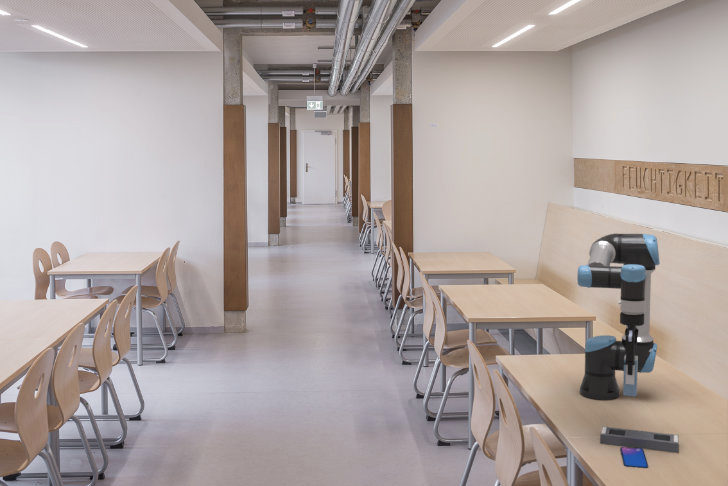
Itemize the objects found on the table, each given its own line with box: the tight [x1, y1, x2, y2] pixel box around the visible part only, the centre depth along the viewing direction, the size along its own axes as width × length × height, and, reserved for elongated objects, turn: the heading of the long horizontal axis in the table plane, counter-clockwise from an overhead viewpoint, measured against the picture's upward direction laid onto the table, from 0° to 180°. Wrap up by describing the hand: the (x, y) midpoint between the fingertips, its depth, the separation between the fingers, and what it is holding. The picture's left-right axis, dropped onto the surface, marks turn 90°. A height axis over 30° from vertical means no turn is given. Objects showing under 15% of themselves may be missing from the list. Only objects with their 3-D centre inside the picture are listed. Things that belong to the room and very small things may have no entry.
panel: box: [599, 426, 680, 454], centre depth 250 cm, size 8×24×3 cm, turn 68°
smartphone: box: [619, 446, 649, 469], centre depth 239 cm, size 7×1×15 cm
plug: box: [622, 355, 638, 397], centre depth 249 cm, size 4×4×13 cm
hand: (630, 381), depth 249 cm, fingers closed on plug, 4 cm apart
